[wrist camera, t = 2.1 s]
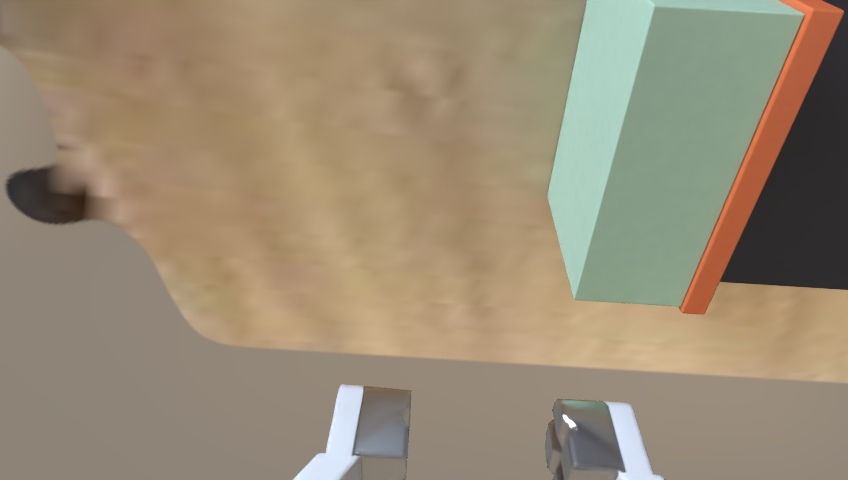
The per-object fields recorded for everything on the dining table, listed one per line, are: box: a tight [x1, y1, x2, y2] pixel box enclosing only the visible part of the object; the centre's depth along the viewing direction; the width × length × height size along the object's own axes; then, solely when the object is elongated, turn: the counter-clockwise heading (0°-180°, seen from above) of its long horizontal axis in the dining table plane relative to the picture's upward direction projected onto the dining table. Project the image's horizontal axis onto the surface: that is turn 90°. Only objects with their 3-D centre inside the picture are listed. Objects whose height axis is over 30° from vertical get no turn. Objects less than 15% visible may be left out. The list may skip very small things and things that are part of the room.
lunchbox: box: [547, 0, 844, 314], centre depth 24 cm, size 6×13×9 cm, turn 177°
